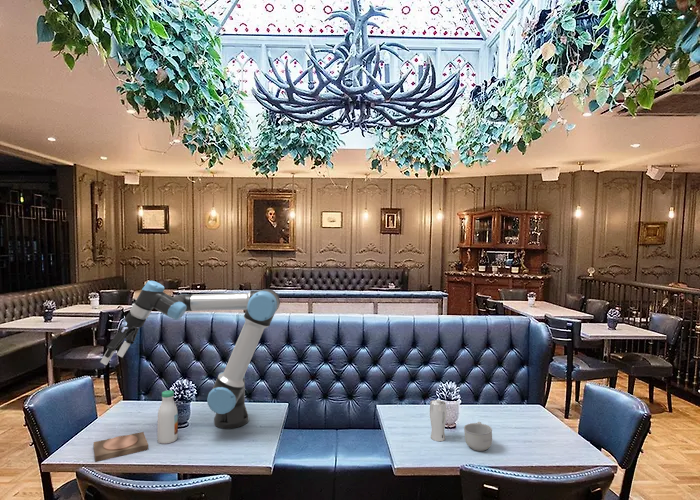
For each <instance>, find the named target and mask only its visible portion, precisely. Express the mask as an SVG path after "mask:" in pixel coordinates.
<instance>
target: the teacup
mask: <svg viewBox="0 0 700 500" xmlns="http://www.w3.org/2000/svg"><path fill="white" fill-rule="evenodd" d="M463 431H464V440H465V443H466V445H467V446H468V447H469V448H470V449H472V450H473V451H478V452H484V451H486V450H488V449H489V448H491V446H492V443H493V428H492V427H491V426H490V425H488V424H485V423H482V422H481V421H477V422H472V423H471V422H470V423H468V424H466V425H464V427H463Z"/></svg>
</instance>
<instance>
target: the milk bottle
mask: <svg viewBox="0 0 700 500" xmlns="http://www.w3.org/2000/svg"><path fill="white" fill-rule="evenodd" d="M174 395H175V392H174V390H173V389H172V390H164V391H162V392H161V402H160V403H161V404H160V405H159V408H158V412H157V429H156V430H157V435H156V436H157V438H156V439H157V442H158V444H163V445H164V444H171V443H174V442H175V441H177V439H178V436H179V434H178V430H179V426H178V425H179V419H178V418H179V417H178V416H179V415H178V407H177V404H176V402H175V400H174Z"/></svg>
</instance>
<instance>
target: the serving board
mask: <svg viewBox="0 0 700 500" xmlns="http://www.w3.org/2000/svg"><path fill="white" fill-rule="evenodd" d="M147 449H148V450H149V442H148V440H147V438H146V435H145V432H144V431H140V432H134V433H131V434H125V435H119V436H115V437H111V438H107V439H102V440H98V441H94V442H93V455H94V462H97V463H98V462H101V461H104V460H110V459H113V458H119V457H122V456H126V455H131V454H135V453H139V452H144V450H145V451H148V450H147Z"/></svg>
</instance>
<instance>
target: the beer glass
mask: <svg viewBox="0 0 700 500" xmlns="http://www.w3.org/2000/svg"><path fill="white" fill-rule="evenodd" d="M447 410H448V409H447V403H446V401H444V400H440V399H433V400H431V401H430V402H429V419H430V425H431V433H430V439H431V440H432V441H435V442H444V441H445V440H446V434H445V433H446V432H445V427H446V422H447V417H448V416H447V412H448V411H447Z"/></svg>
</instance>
